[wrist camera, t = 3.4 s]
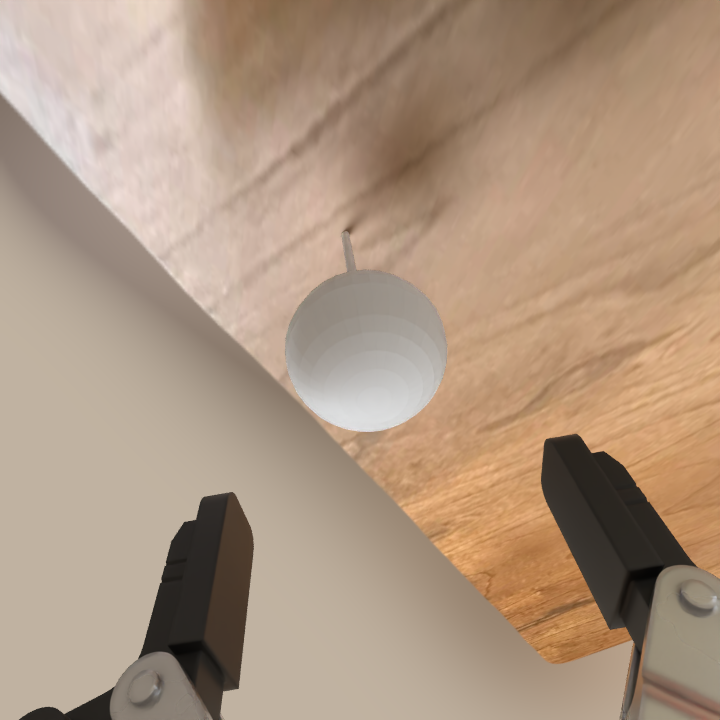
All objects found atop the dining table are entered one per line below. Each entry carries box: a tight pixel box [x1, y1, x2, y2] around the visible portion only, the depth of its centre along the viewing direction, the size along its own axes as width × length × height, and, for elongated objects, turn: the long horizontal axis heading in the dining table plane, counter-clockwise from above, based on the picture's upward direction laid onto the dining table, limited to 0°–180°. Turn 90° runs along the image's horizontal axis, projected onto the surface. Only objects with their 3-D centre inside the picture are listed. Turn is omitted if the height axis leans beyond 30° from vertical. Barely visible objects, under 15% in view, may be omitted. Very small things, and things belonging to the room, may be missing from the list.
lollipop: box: [285, 231, 447, 432], centre depth 21 cm, size 6×6×15 cm
